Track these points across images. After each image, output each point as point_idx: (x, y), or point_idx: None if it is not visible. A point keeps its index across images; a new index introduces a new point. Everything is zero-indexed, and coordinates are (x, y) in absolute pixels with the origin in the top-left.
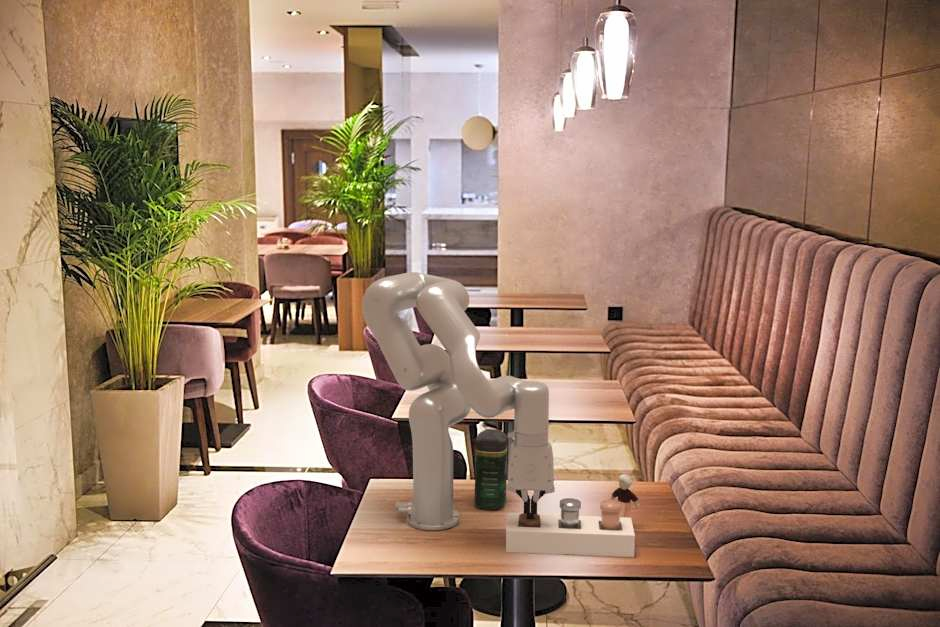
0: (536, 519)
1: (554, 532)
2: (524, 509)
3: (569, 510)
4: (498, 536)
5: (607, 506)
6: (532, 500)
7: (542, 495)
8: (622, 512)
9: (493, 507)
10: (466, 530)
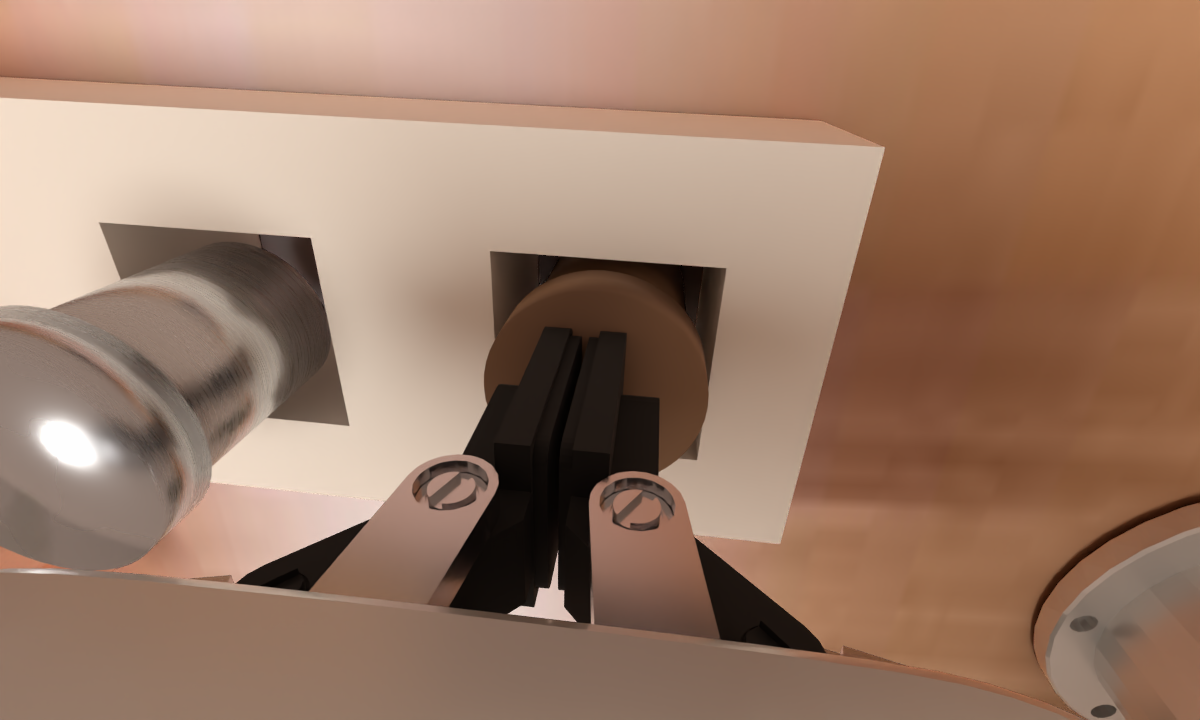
0: (517, 323)
1: (329, 118)
2: (648, 421)
3: (25, 309)
4: (826, 398)
5: None
6: (516, 496)
7: (316, 551)
8: (7, 552)
9: None
10: (1036, 485)
